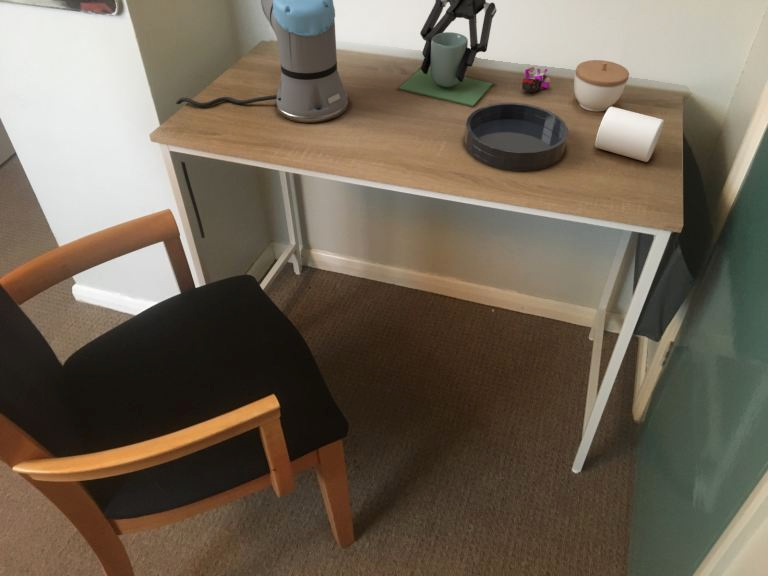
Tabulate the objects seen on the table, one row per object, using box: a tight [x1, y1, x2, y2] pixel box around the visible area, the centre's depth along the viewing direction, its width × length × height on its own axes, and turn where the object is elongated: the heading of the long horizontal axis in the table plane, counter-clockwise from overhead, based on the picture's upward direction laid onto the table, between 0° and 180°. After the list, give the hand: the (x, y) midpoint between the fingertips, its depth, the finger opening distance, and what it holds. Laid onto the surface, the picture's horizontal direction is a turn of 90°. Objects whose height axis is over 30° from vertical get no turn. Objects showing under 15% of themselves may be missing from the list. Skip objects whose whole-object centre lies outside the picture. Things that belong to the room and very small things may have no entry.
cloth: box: [398, 68, 494, 107], centre depth 138 cm, size 18×12×1 cm, turn 62°
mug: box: [594, 106, 665, 163], centre depth 117 cm, size 12×10×8 cm
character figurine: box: [521, 66, 551, 93], centre depth 137 cm, size 6×5×12 cm
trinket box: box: [573, 59, 630, 113], centre depth 129 cm, size 11×11×9 cm
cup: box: [429, 31, 469, 87], centre depth 135 cm, size 8×8×10 cm
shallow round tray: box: [464, 102, 569, 172], centre depth 119 cm, size 19×19×4 cm
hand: (441, 75), depth 134 cm, fingers closed on cup, 8 cm apart
